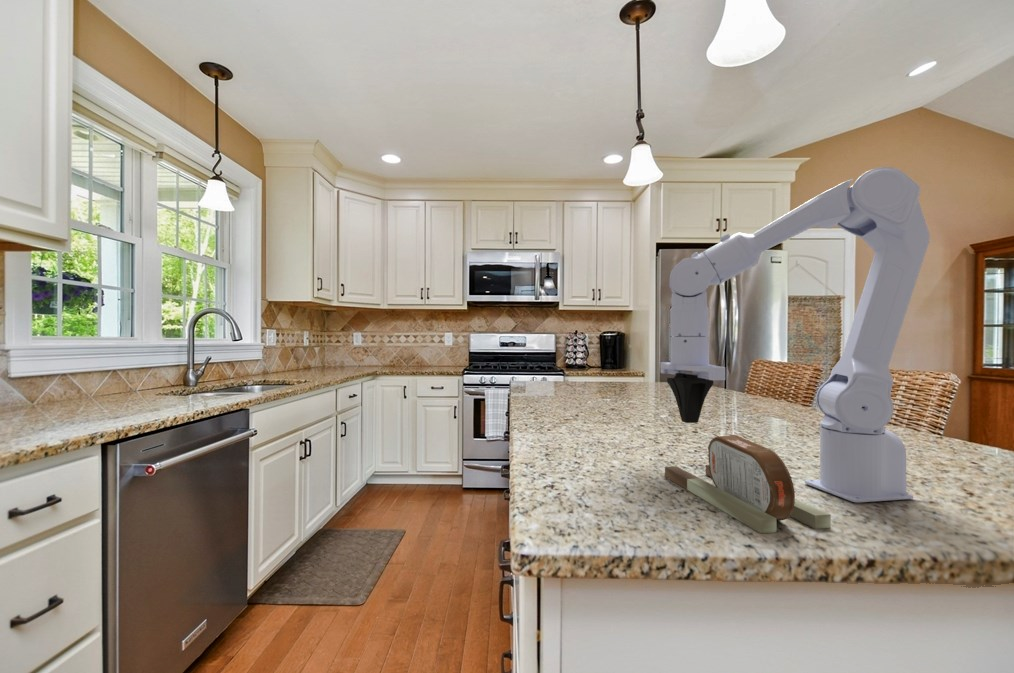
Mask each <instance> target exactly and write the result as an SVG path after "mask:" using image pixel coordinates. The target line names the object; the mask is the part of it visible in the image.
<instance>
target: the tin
mask: <svg viewBox="0 0 1014 673" xmlns="http://www.w3.org/2000/svg"><path fill="white" fill-rule="evenodd" d="M707 449H708V452H707V454H708V465H709V471H710V475H711V477H710V478H711V481H712V483H713V484H714V485H713V486H715V487H717V488H719V489H721V490H723V491H725V492H727V493H729V494H731V495H733V496H735V497H736V498H738V499H740V500H742V501H744V502H746V503H748V504H750V505H752V506H754V507H756V508H757V509H759V510H761V511H763V512H765V513H767V514H769V515H771V516H773V517H775V518H776V521H777V520H778V521H785V520H787V519H788V518H790V517H791V516H790V515H791V514H792V512H793V509H794V504H795V499H796V493H795V487H794V483H793V482H794V481H793V480H792V476H791V473H790V472H789V469H788V467H787V466H786V464H785V462H784V461H783V459H781V457H780V456H779V455H778V454H777V453H776V452H775V451H774V450H772V449H771V448H768V447H765V446H763V445H761V444H759V443H756V442H753V441H750V440H748V439H747V438H746V439H745V438H743V437H742V436H740V435H736V434H730V435H722V436H721V435H720V436H715V437H713V438H712V439H711V440H710V442H709V443H708V447H707Z"/></svg>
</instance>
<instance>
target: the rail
mask: <svg viewBox="0 0 1014 673" xmlns="http://www.w3.org/2000/svg"><path fill="white" fill-rule="evenodd" d="M705 475H706V476H708V477H710V478H711V475H710V471H709V464H705ZM664 477H665V478H667V479H668V480H671V481H672V482H673V483H675V484H677V485H678V486H681V487H682V488H684V489H685V490H687V491H689V492H690V493H692V494H694V495H695V496H697V497H698V498H701V499H702V500H704V502H707V503H709V504H710V505H712V506H714V507H716V508H717V509H719V510H721V511H722V512H723V513H725V514H727V515H729V516H731V517H732V518H734V519H736V520H738V521H739V522H741V523H743V524H744V525H746V526H748V527H749V528H751V529H753V530H755V531H756V532H758V533H759V534H767V533H768V534H769V533H770V534H771V533H777V520H776V518H775V517H773V516H771V515H769V514H767V513H765V512H763V511H761V510H759V509H757V508H756V507H754V506H752V505H750V504H748V503H746V502H744V501H742V500H740V499H738V498H736V497H735V496H733V495H731V494H729V493H727V492H725V491H723V490H721V489H719V488H717V487H716V486H715V485H713V484H711V483H709V482H708V481H706V480H704V479H702V478H700V477H698V476H696V475H695V474H693V473H690V472H689V471H688V470H684V469H683V468H682V467H681V468H680V467H679V466H677V465H676V466H674V465H673V466H664ZM831 515H832V514H830V513H829V512H826V511H824V510H821V509H819V508H817V507H815V506H812V505H810V504H808V503H805V502H803V501H801V500H799V499H796V498H795V504H794V509H793V512H792V514H791V515H790V516H789V517H791V518H793V519H794V520H797V521H799V522H801V523H803V524H805V525H807V526H809V527H811V528H813V529H814V530H817V529H830V528H831V526H832V525H831V523H832V522H831V520H832V519H831Z"/></svg>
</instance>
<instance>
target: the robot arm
mask: <svg viewBox="0 0 1014 673" xmlns="http://www.w3.org/2000/svg"><path fill="white" fill-rule="evenodd" d="M853 180H854V179H853V178H851V179H849V180H846V181H844V182H841V183H839V184H838V185H836V186H834V187H832V188H830V189H828V190H826V191H824V192H822V193H820V194H818V195H816V196H815V197H813V198H811V199H809V200H807V201H805V202H804V203H803V204H801V205H799V206H797V207H796V208H794V209H792V210H791V211H788V212H787V213H785V214H784V215H782V216H780V217H778V218H777V219H775V220H774V221H772V222H770V223H768V224H766V225H765V226H764V227H761V228H760V229H758V230H756V231H755V232H753V233H743V232H737V233H734V234H732V235H730V233H726V234H724V235H722V236H721V237H720V238H719V241H720V242H718V243H717V244H715V245H713V246H710V247H709V248H707V249H705V250H704V251H702V252H699V253H698V252H697V251H696V252H694V253H692V254H691V256H690V257H685V258H682V259H681V260H680V261H679V262H678V263H677V264H675V266H674V267H673V268H672V269H671V271H670V274H669V283H668V285H669V286H668V287H669V289H670V291H671V297H670V305H671V307H670V309H669V327H670V328H669V333H670V334H669V336H670V337H669V339H670V340H669V345H670V350H669V351H670V353H669V354H670V356H669V358H670V362H669V361H662V362H661V361H660V364H659V366H660V370H659V371H660V374H668V375H669V374H670V375H674V377H667V379H666V383H667V384H668V386H669V387H670V389H671V391H672V393H673V395H674V398H675V400H676V404H677V407H678V413H679V417H680V420H681V423H685V424H692V423H693V424H694V423H695V424H696V423H699V420H700V415H701V413H702V409H703V405H704V402H705V400H706V398H707V395H708V393H709V392H710V389H711V388H712V387H713V385H714V381H726V367H725V366H718V365H713V364H710V314H709V313H710V308H709V307H708V292H707V289H708V288H709V286H719V285H720V284H722V283H724V282H726V281H729V280H730V279H732V278H734V277H736V276H738V275H740V274H742V273H743V272H746V271H747V270H749V269H751V268H753V267H755V266H757V265H758V263H759V260H760V257H761V254H762V253H763V252H765V251H767V250H769V249H771V248H773V247H775V246H777V245H779V244H781V243H783V242H786V241H787V240H789V239H791V238H794V237H795V236H797V235H799V234H801V233H803V232H805V231H807V230H810V229H812V228H813V227H814V228H815V227H816V228H821V229H822V228H823V229H832V228H834V227H835V226H837V227H839V228H840V229H841V230H844V231H846V232H848V233H850V234H851V235H854V236H856V237H858V238H859V239H862V240H863V241H864V242H865V243H866V244H867V245H868V246H869V247H870V248H871V249H872V250H873V251H874V255H873V258H872V262H871V264H870V267H869V271H868V274H867V276H866V280H865V282H864V283H865V284H864V286H863V288H862V289H863V290H862V292H861V296H860V299H859V301H858V305H857V308H856V310H855V314H854V318H853V321H852V322H851V323H852V324H851V326H850V330H849V333H848V337H847V340H846V343H845V345H844V349H843V352H842V356H841V358H839V360H838V361H837V362H836V364H835V365H834V366H833V367H832V369H831V371H830V372H831V373H830V375H829V377H828V379H827V380H826V381H825V382H823V384H821V385H820V386H819V388H818V389H817V391H816V395H815V402H816V406H817V408H818V409H819V411H820V412H821V413H823V415H824V416H823V418H822V420H820V422H819V425H820V426H819V475H820V476H819V478H818V479H805V480H804V483H805V485H808V486H811V487H813V488H816V489H819V490H821V491H823V492H826V493H828V494H830V495H831V494H832V495H834V496H836V497H839V498H842V499H844V500H847V501H848V502H849V501H850V502H852V503H857V504H858V503H868V502H869V503H870V502H882V501H883V502H884V501H897V500H913V499H914V495H913V494H910V493H907V451H906V447H905V445H904V443H903V442H904V441H902V439H901V438H900V437H899V436H898V435H897V434H896V433H894V432H893V431H891V430H888V429H886V425H888V423H890V422H891V420H892V418H893V415H894V410H895V409H894V403H893V400H892V396H891V395H892V389H893V385H894V379H893V377H892V373H891V371H890V368H889V365H890V363H891V359H892V357H893V353H894V350H895V347H896V344H897V340H898V338H899V336H900V332H901V329H902V326H903V324H904V323H903V322H904V320H905V317H906V314H907V310H908V307H909V304H910V301H911V298H912V296H913V292H914V289H915V286H916V283H917V280H918V277H919V273H920V271H921V268H922V265H923V263H924V259H925V256H926V253H927V249H928V246H929V243H930V238H931V236H930V232H929V229H928V226H927V222H926V220H925V216H924V213H923V210H922V207H921V204H920V195H921V194H920V193H921V186H920V185H919V184H918V183H917V182H915V181H914V180H913V179H912V178H911V177H910V176H909V175H907V174H906V173H905V172H904V171H902V170H901V169H899V168H895V167H890V166H881V167H874V168H873V169H870V170H867V171H865V172H864V173H862V174H861V175H860V176H859V177H858V178H857V179H856V180H855V182H853ZM852 182H853V184H852V185H851V186H850V184H851V183H852ZM689 371H690V372H689Z"/></svg>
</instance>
